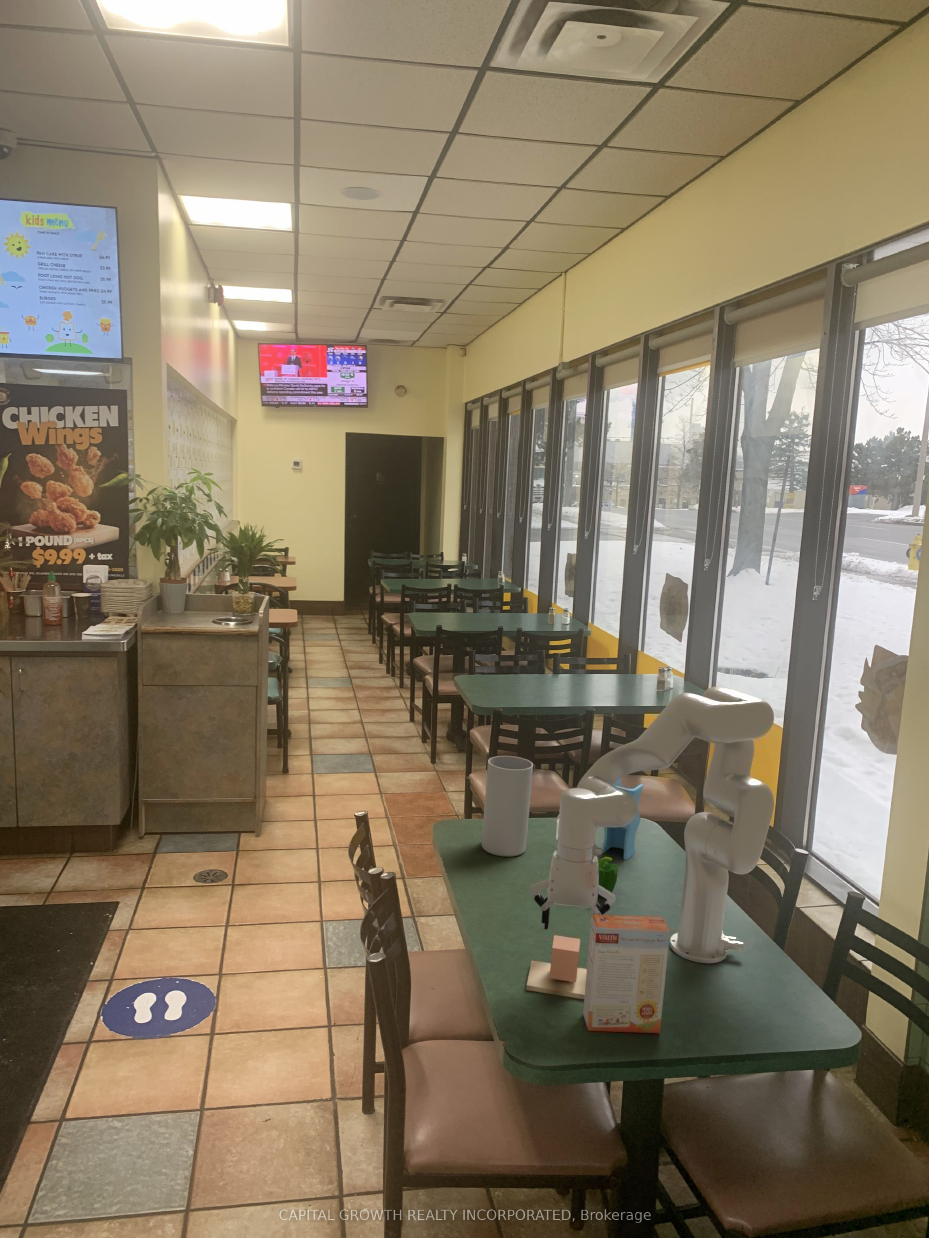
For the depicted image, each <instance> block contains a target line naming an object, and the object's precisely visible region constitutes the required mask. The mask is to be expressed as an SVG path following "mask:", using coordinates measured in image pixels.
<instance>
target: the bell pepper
mask: <svg viewBox="0 0 929 1238" xmlns="http://www.w3.org/2000/svg"><path fill="white" fill-rule="evenodd" d="M612 860H613V858H612V857H609V856H604V857H602V858H600V859H599V858H598V865H599V885H600V886H602V887H603V888H605V889H606V890H608V891H609V892H611V893H613V892H614V888H615V887H616V884H617V881H618V880H617V879H618V870H619V869H618V865H617V864H615V863H611V862H612ZM598 897H602V896H601V895H599V894H598Z"/></svg>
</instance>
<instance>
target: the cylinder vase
mask: <svg viewBox="0 0 929 1238" xmlns="http://www.w3.org/2000/svg"><path fill="white" fill-rule="evenodd" d="M486 771H487V772H486V783H485V793H484V794H485V795H484V805H483V806H484V808H483V820H482V831H481V832H482V834H481V836H482V837H481V847H482V849H483V850H484V851H485V852H487V853H488V854H491V855H494V856H497V857H517V856H520V855H522V854H523V853H525V852H526V849H527V839H528V829H529V827H528V826H529V818H530V817H529V816H530V805H531V793H532V780H533V771H534V763H533V762H532V761H530V760H529V759H526V758H522V757H519V756H512V755H498V756H493V757H489V759H488V760H487V769H486Z"/></svg>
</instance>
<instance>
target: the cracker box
mask: <svg viewBox="0 0 929 1238" xmlns="http://www.w3.org/2000/svg"><path fill="white" fill-rule="evenodd" d="M670 934H671V930H670V928H669V927H668V925H667V923H666V921H665V919H664V918H663V917H659V916H655V917H654V916H641V915H640V916H637V915H634V916H632V915H614V914H613V915H611V914H603V915H594V914H593V913H592V914H591V919H590V931H589V941H588V942H589V943H588V951H587V952H588V955H587V962H586V963H587V965H586V969H587V975H586V986H585V997H584V999H583V1009H582V1010H583V1011H582V1014H583V1018H584V1022H585V1025H586V1029H587V1031H588V1032H613V1033H615V1032H616V1033H617V1032H618V1033H644V1034H661V1024H662V1014H663V1013H662V1012H663V1003H664V997H665V996H664V993H665V985H666V976H667V974H666V973H667V963H668V955H669V947H670V938H671V936H670Z"/></svg>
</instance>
